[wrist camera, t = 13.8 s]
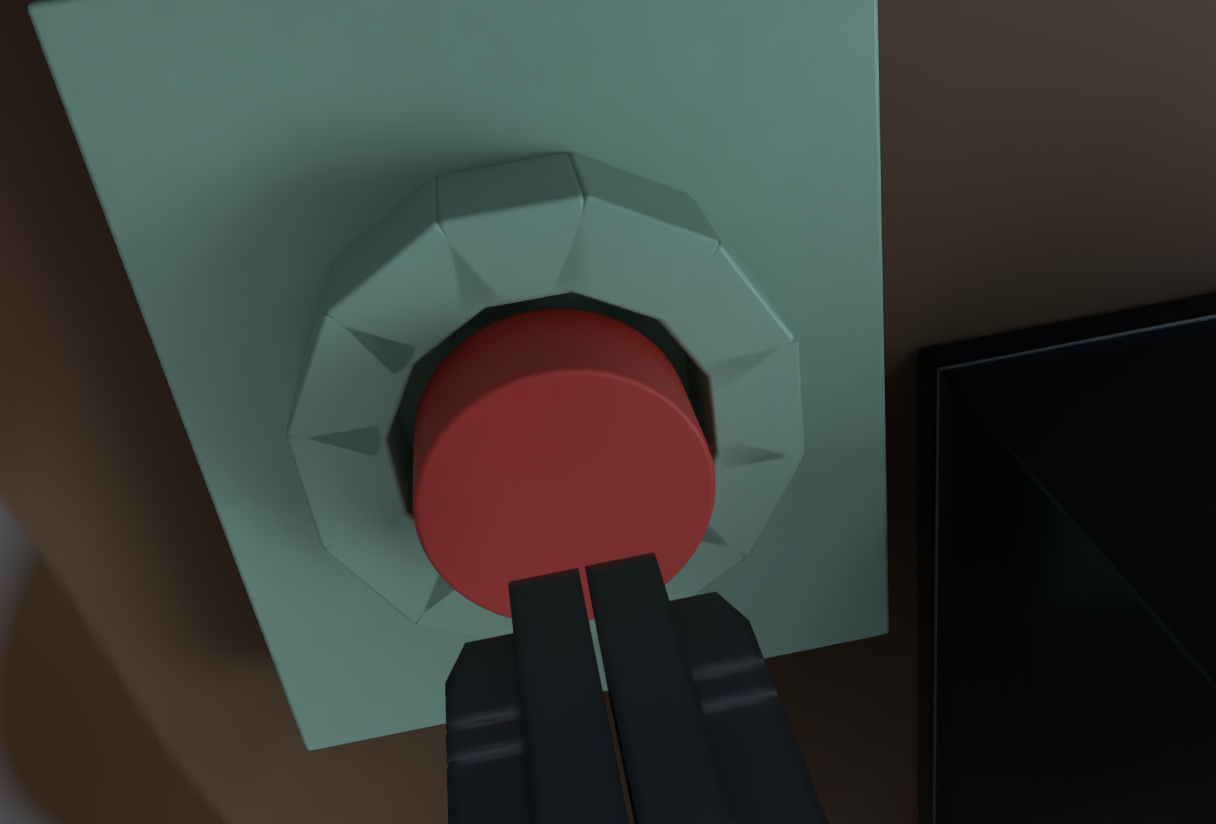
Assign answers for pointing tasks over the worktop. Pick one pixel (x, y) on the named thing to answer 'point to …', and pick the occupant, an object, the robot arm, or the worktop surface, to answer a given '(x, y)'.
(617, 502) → the button
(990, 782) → the toaster
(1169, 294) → the worktop surface
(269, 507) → the button block
